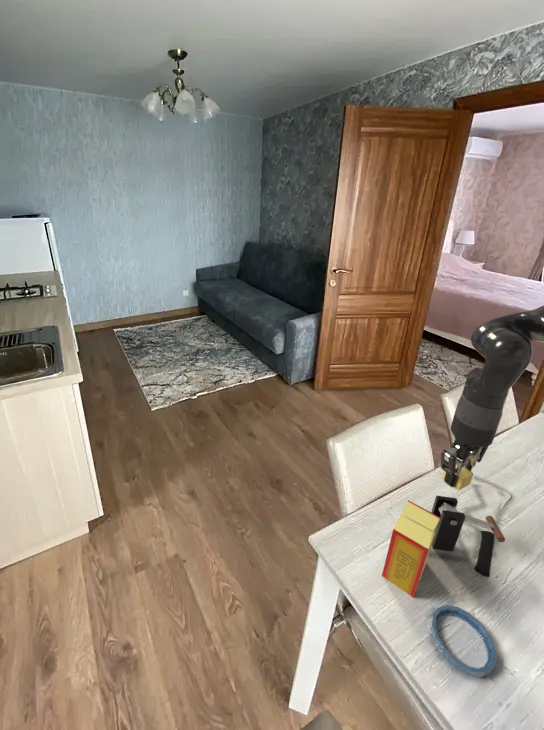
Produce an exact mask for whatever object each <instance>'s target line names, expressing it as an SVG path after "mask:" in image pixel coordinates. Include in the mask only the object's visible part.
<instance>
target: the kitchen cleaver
mask: <svg viewBox="0 0 544 730" xmlns="http://www.w3.org/2000/svg"><path fill="white" fill-rule="evenodd" d="M470 485H476V486H484V487H491V488H492V487H494V485H490V484H487V483H485V482H482V481H479V480H477V479H474V478H472V480H471V483H470ZM502 494H503V496H502V498H501V504H500V511H502V510H503V508H504V506H505V505H506V504H507V503H508V502H509V501H510V499H511V497H512V495H511V494H510V493H509V492H507V491H505V490H503V491H502ZM480 535H481V539H480V546H479V551H478V555H477V560H476V563H475V566H474V568H473V569H474V571H475V572H476V573H477V574H479V575H481V576H482V577H485V578H490V574H491V564H492V556H493V551H494V550H493V549H494V543H495V535H494V533H493V531H490V530H480Z"/></svg>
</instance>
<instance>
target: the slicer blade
mask: <svg viewBox="0 0 544 730" xmlns="http://www.w3.org/2000/svg"><path fill="white" fill-rule="evenodd" d="M442 510H445V511H452V512H459V513H462V511H458V509H457V506H456V507H455V506H453V505H450V504H448V503H445V502H443V504H442V505H441V506H440V507H439V511H440V514H441V513H442ZM464 515H465V520H464V522H466V523H469V524H472V525H475V526H477V527H480V528H483V529H486V530H487V531H490V532H492V533H493V534H494V538H496V541H497V542H499V543H504V542H505V541H506V538H505V535H504V534H503V532H502V531H501V529H500V527H499V525H498V524H497V522H496V520H495V518H494V517H493V516H492V515H487V516H485V520H482V519H480V518H477V517H475V516H471V515H468V514H466V513H464Z"/></svg>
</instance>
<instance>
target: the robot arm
mask: <svg viewBox="0 0 544 730" xmlns="http://www.w3.org/2000/svg"><path fill="white" fill-rule="evenodd" d="M470 342H471V345H472V347H473V349H474V350H475V351H476V352H478V354H480V355H481V356H482V357H483V358H484V359H485V360H484V365H483V366H479V367H474V368H472V369H471V370H470V371H469V372H468V373H467V376H466V379H465V383H464V385H463V390H462V392H461V395H460V397H459V399H458V401H457V404H456V408H455V411H454V415H453V418H452V421H451V425H450V431H451V434H452V436H453V437H454V440H453V442H452V443H451V449H450V450H446V449H442V450H441V452H440V469H441V470H443V471H445V472H446V475H445V478H444V479H443V481H444V483H445V484H446V485H448V486H449V487H450V488H454V487H455V486H456V483H457V479H458V477H459V474H460V472H461V469H462V468H463V467H465V468H466V469H468V470H469V471H471V472H472V471H473V470H472V469H473V468H475V467H476V465H477V463H478V464H479V463H480V462H482V459H483V458H484V456H485V454H486V452H487V450H488V449H489V447H490V446H491V445H492V444H493V442H494V439H495V437H496V434H497V431H498V428H499V425H500V423H501V420H502V417H503V412H504V407H505V403H506V402H507V397H508V396H509V392H510V389H511V388H512V386H514V384H515V383H516V382H517V381H518V380H519V379H520V377H521V376H522V374H523V373H524V372H525V371H526V369H527V368H528V367H529V365H530V363H531V362H532V358H533V345H532V343H531V342H538V343H543V344H544V305H541V306H539V307H537V308H534V309H530V310H524V311H520V312H515V313H511V314H507V315H502V316H498V317H494V318H492V319H489V320H487V321H485V322H483V323H481V324H480V325H479V326H478V327H476V328H475V329H474V331H473V332H472V333H471V336H470ZM456 464H457V468H456Z"/></svg>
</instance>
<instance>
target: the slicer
mask: <svg viewBox="0 0 544 730" xmlns="http://www.w3.org/2000/svg"><path fill="white" fill-rule="evenodd" d="M443 502H445V503H448V504H450V505H453V506H455V507H456V508H457V506H458V504H459V503H458V502H459V500H458V498H457V497H451V496H443V495H436V496H435V498H434V501H433V505H432V508H431V511H430V512H431V513H433V514H435V515H437V516H438V517H440V521H439V525H438V528H437V531H436V534H435V537H434V540H433V543H432V547H431V549H433V550H437V551H444V552H449V553H454V550H455V548H456V545H457V542H458V539H459V536H460V533H461V532H462V531H461V530H462V528H463V526H464V523H465V521H464V520H465V515H464V514H465V513H464V512H461V513H459V512H460V511H458V512H452V511H445V510H442V513H441V514H440V511H439V507H440V506H441V505H442V504H443Z"/></svg>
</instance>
